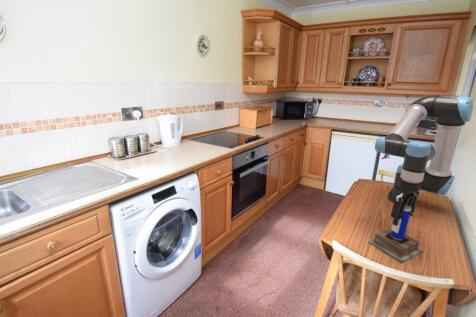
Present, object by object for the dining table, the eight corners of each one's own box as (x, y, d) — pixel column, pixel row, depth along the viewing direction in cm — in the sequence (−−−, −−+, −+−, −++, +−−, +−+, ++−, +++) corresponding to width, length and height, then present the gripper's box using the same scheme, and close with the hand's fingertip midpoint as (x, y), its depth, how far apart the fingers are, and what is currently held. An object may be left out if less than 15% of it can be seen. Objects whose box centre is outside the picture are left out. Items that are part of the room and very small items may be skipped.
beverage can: (398, 233, 111) (406, 203, 107) (406, 240, 106) (414, 209, 102) (387, 233, 111) (394, 203, 107) (394, 240, 106) (402, 209, 102)
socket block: (388, 234, 120) (390, 225, 119) (422, 252, 107) (425, 242, 106) (368, 242, 114) (370, 233, 112) (401, 263, 101) (404, 253, 99)
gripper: (413, 173, 108) (402, 220, 115) (387, 180, 100) (377, 230, 107) (433, 179, 101) (419, 228, 108) (407, 187, 93) (394, 240, 100)
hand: (398, 229), depth 108 cm, fingers closed on beverage can, 5 cm apart
